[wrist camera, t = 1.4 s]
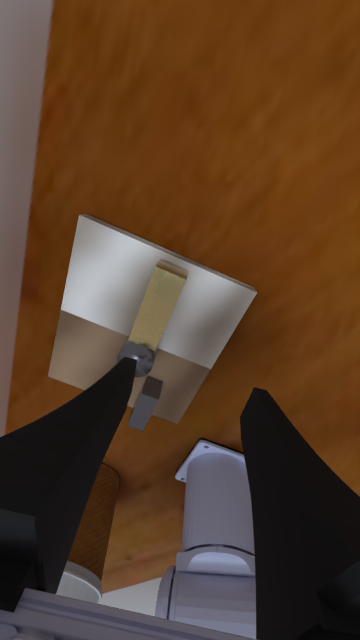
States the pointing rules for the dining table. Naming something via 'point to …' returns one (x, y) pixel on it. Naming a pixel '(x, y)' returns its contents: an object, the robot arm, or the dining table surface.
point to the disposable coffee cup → (91, 541)
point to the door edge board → (122, 309)
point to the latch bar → (153, 316)
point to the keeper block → (145, 403)
